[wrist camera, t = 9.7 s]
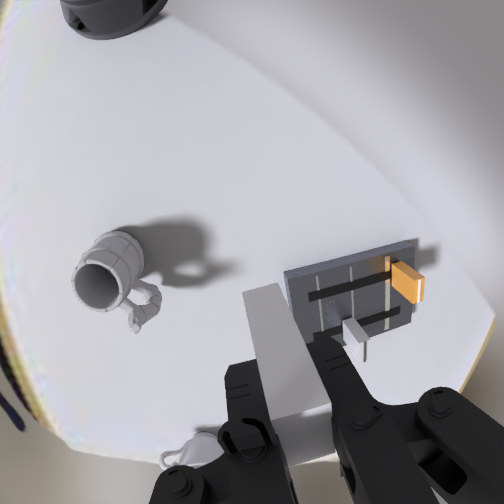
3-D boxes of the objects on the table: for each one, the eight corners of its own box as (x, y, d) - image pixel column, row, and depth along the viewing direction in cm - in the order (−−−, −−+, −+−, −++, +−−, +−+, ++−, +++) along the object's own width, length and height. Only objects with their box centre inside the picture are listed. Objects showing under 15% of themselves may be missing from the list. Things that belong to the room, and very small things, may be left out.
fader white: (342, 320, 43) (359, 344, 38) (353, 317, 44) (371, 340, 38) (343, 339, 45) (359, 363, 39) (354, 336, 45) (370, 359, 39)
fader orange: (391, 264, 42) (414, 281, 36) (401, 261, 42) (425, 277, 36) (391, 285, 43) (413, 304, 37) (401, 282, 43) (423, 301, 37)
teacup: (171, 411, 49) (168, 454, 40) (244, 430, 53) (250, 470, 44) (154, 442, 52) (150, 480, 43) (219, 458, 56) (222, 495, 47)
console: (283, 271, 43) (287, 279, 40) (405, 240, 44) (414, 245, 41) (296, 349, 48) (300, 359, 45) (403, 315, 49) (411, 322, 46)
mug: (113, 216, 37) (77, 244, 26) (181, 271, 41) (172, 317, 30) (84, 258, 39) (47, 297, 27) (149, 308, 42) (133, 361, 31)
